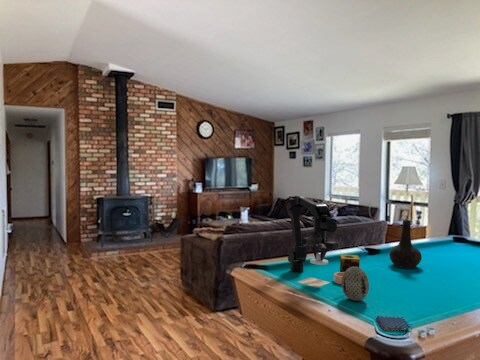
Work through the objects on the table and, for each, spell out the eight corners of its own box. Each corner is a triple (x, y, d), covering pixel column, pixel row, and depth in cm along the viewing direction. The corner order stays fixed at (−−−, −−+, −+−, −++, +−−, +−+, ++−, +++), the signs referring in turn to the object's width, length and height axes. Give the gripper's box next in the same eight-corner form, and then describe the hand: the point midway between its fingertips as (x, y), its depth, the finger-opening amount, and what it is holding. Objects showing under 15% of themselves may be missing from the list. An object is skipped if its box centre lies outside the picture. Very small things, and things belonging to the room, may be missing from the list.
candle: (360, 277, 202) (360, 259, 202) (340, 276, 204) (341, 258, 204) (358, 272, 212) (358, 255, 212) (339, 271, 214) (339, 254, 214)
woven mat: (374, 320, 147) (374, 314, 147) (402, 321, 146) (402, 316, 146) (381, 331, 137) (382, 326, 137) (412, 333, 136) (412, 327, 136)
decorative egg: (353, 306, 160) (354, 271, 160) (335, 297, 171) (336, 264, 170) (374, 302, 165) (375, 268, 164) (356, 294, 176) (357, 262, 175)
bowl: (330, 283, 192) (331, 274, 192) (340, 279, 198) (340, 271, 198) (346, 287, 186) (347, 278, 185) (355, 283, 192) (356, 274, 192)
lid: (306, 262, 190) (306, 253, 190) (316, 259, 197) (316, 250, 196) (321, 265, 184) (321, 256, 184) (331, 262, 190) (331, 253, 190)
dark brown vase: (388, 268, 222) (390, 221, 221) (389, 261, 239) (390, 217, 238) (422, 271, 215) (423, 223, 214) (420, 264, 232) (421, 219, 231)
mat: (296, 283, 191) (296, 281, 191) (310, 278, 199) (310, 277, 199) (316, 289, 182) (316, 287, 182) (330, 284, 191) (330, 282, 190)
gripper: (295, 228, 191) (294, 259, 191) (326, 233, 177) (325, 266, 178) (308, 226, 199) (307, 255, 199) (339, 231, 185) (338, 262, 186)
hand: (319, 260), depth 190 cm, fingers closed on lid, 3 cm apart
